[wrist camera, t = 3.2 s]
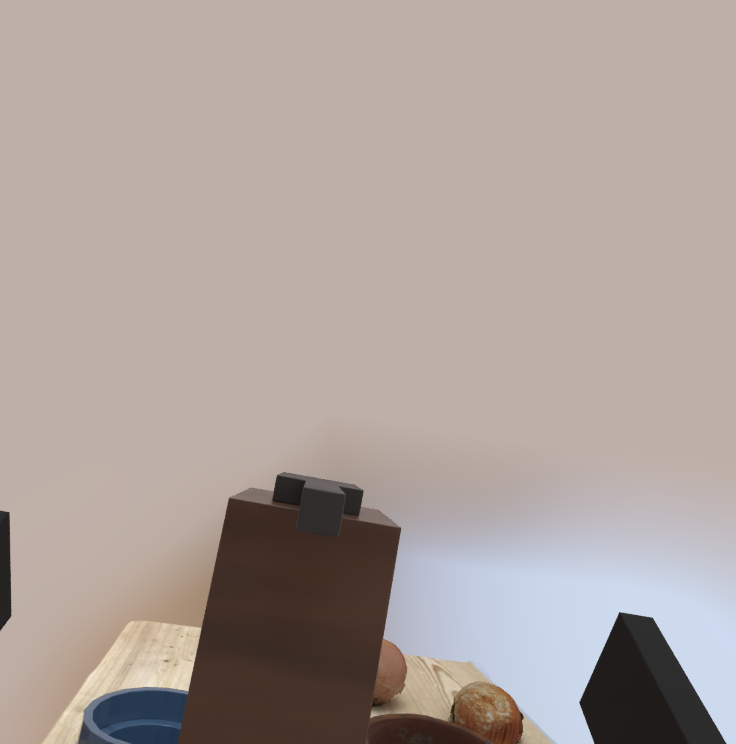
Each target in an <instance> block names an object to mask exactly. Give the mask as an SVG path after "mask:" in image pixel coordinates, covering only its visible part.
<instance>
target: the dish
mask: <svg viewBox="0 0 736 744" xmlns="http://www.w3.org/2000/svg"><path fill="white" fill-rule="evenodd" d="M366 744H494V743H492V742H491V741H489V740H488V739H486V738H484V737H483V736H481V735H480V734H478V733H476V732H474V731H472V730H470V729H467V728H465V727H463V726H460V725H457V724H453V723H450V722H447V721H443V720H440V719H436V718H433V717H429V716H425V715H419V714H387V715H380V716H375V717H372V718H370V720H369V727H368V733H367V739H366Z"/></svg>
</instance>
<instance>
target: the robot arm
mask: <svg viewBox="0 0 736 744" xmlns="http://www.w3.org/2000/svg"><path fill="white" fill-rule="evenodd" d="M9 519H10V518H9V512H5V511H0V630H1V629H2V628H3V626H4V625H5V624H6V622H7V621H8V620H9V618H10V617H11V570H10V520H9ZM579 703H580V705H581V708H582V711H583V714H584V716H585V719H586V722H587V725H588V727H589V730H590V732H591V735H592V738H593V741H594V744H726V742H725V741H724V739H723V737H722V735H721V734H720V732H719V730H718V729H717V727H716V725H715V723H714V722H713V720H712V718H711V717H710V715H709V713H708V711H707V710H706V708H705V706H704V705H703V703H702V701H701V700H700V698H699V696H698V695H697V693H696V691H695V689H694V688H693V686H692V684H691V683H690V681H689V679H688V677H687V676H686V674H685V672H684V671H683V669H682V667H681V665H680V664H679V662H678V660H677V659H676V657H675V656H674V654H673V652H672V650H671V648H670V647H669V645H668V643H667V642H666V640H665V638H664V637H663V635H662V633H661V631H660V630H659V628H658V626H657V624H656V623H655V621H654V619H653V618H651V617H645V616H639V615H633V614H627V613H620V612H619V615H618V617H617V619H616V621H615V624H614V626H613V628H612V630H611V633H610V635H609V637H608V640H607V642H606V644H605V646H604V649H603V651H602V653H601V655H600V657H599V660H598V662H597V664H596V666H595V669H594V671H593V673H592V676H591V678H590V680H589V682H588V684H587V687H586V689H585V691H584V694H583V696H582V698H581V700H580V702H579Z"/></svg>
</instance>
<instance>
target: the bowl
mask: <svg viewBox="0 0 736 744" xmlns="http://www.w3.org/2000/svg"><path fill="white" fill-rule="evenodd" d="M187 696H188V691H184V690H178V689H171V688H157V687H142V688H131V689H123V690H119V691H115V692H112V693H108V694H105V695H103V696H101V697H99V698H97V699H95V700H93V701H92V702H91V703H90V704H89V705H88V706H87V707H86V709H85V710H84V713H83V718H82V722H81V726H80V730H79V735H78V739H77V744H178V739H179V734H180V729H181V725H182V720H183V715H184V710H185V706H186V701H187Z"/></svg>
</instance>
